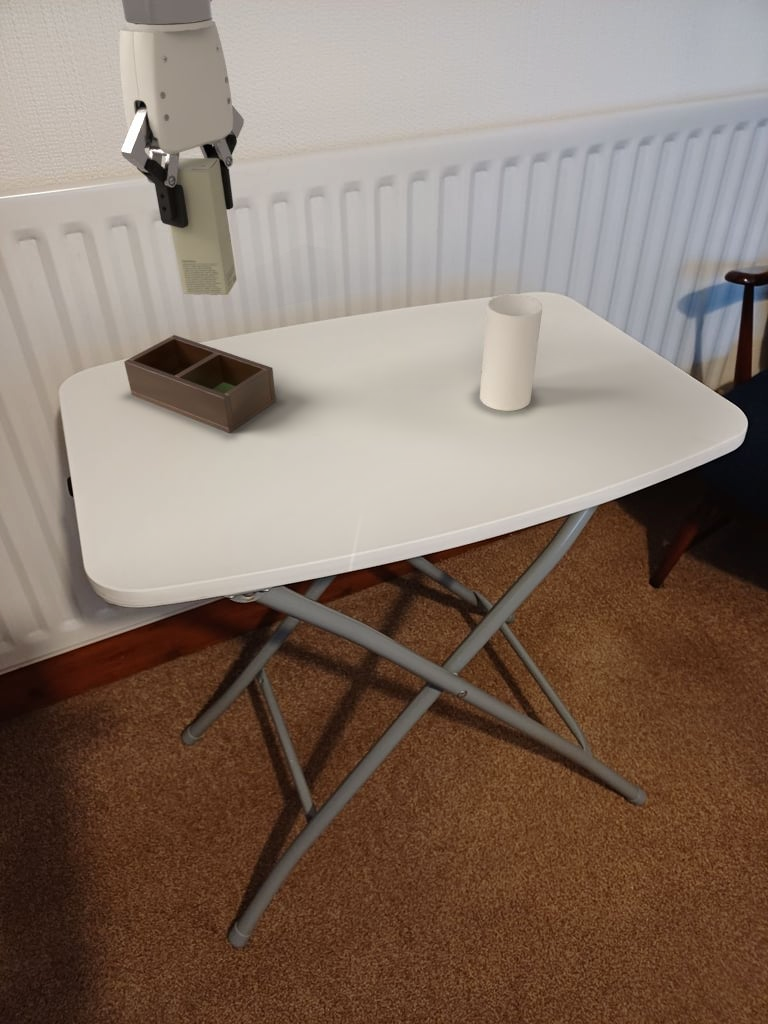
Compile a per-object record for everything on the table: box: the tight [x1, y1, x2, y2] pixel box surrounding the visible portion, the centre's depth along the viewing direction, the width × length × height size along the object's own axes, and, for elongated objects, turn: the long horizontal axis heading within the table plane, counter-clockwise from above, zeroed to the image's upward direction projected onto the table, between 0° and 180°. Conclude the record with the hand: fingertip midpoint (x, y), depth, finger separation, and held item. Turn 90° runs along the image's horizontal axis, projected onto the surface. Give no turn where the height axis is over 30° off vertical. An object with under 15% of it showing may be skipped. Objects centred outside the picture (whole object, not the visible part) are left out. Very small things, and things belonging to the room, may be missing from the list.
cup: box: [479, 293, 543, 412], centre depth 92 cm, size 6×6×12 cm
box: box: [162, 157, 237, 296], centre depth 81 cm, size 5×4×13 cm
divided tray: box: [123, 334, 277, 434], centre depth 94 cm, size 8×16×5 cm, turn 57°
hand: (198, 214), depth 80 cm, fingers closed on box, 5 cm apart
